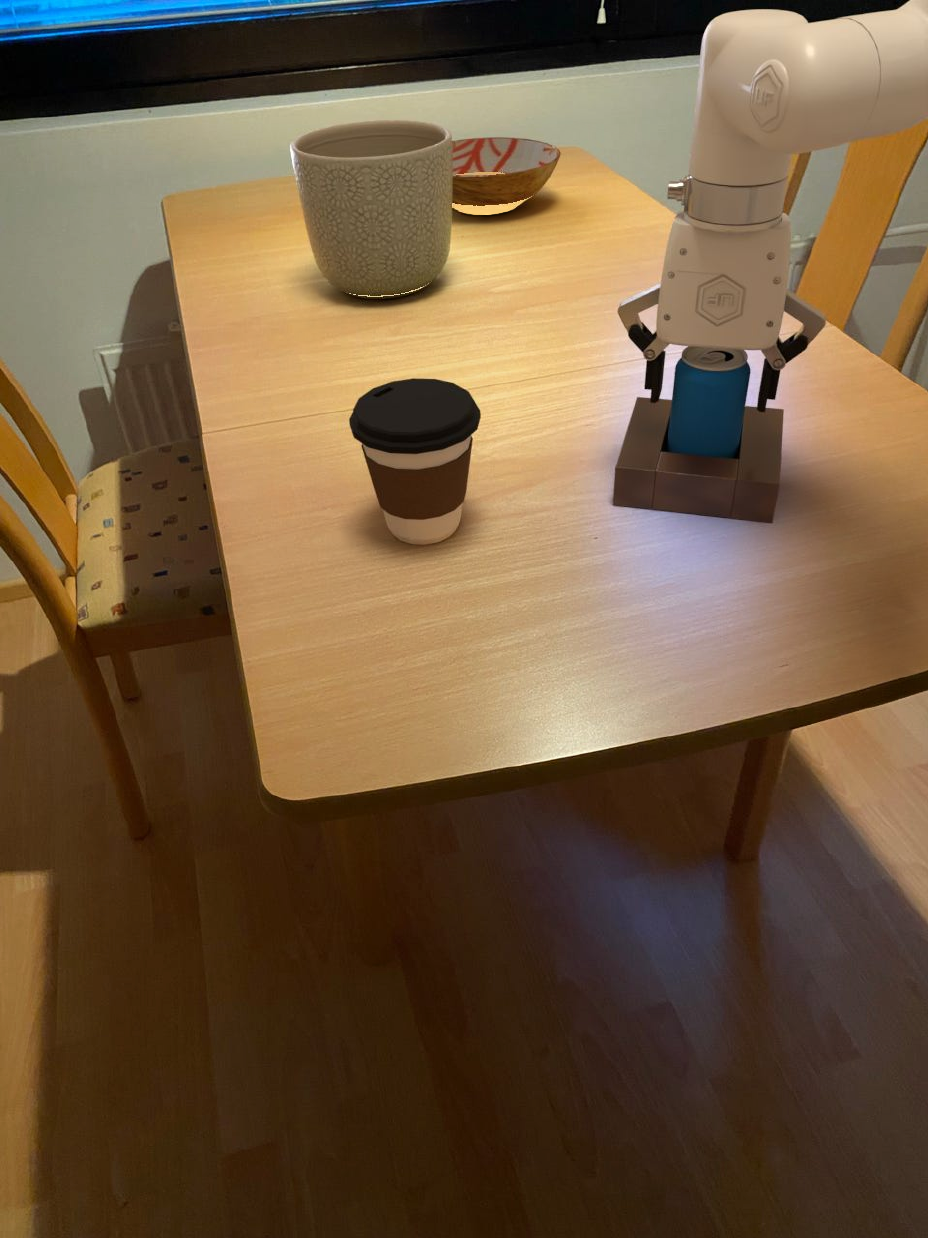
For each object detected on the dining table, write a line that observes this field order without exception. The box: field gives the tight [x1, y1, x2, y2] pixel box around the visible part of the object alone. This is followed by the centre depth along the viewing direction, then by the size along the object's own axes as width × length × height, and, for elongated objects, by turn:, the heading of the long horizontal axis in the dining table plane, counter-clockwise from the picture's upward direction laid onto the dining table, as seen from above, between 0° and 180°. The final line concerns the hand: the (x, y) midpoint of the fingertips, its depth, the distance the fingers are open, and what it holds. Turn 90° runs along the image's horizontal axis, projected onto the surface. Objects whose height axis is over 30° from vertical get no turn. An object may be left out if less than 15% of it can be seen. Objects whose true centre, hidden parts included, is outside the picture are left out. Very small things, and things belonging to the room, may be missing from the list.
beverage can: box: [666, 346, 752, 459], centre depth 85 cm, size 6×6×12 cm
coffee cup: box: [348, 377, 482, 546], centre depth 80 cm, size 11×11×12 cm
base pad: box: [612, 396, 785, 524], centre depth 87 cm, size 14×14×4 cm
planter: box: [289, 119, 453, 300], centre depth 126 cm, size 21×21×19 cm
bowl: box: [452, 136, 562, 206], centre depth 156 cm, size 25×25×8 cm
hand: (708, 400), depth 84 cm, fingers open, 9 cm apart
